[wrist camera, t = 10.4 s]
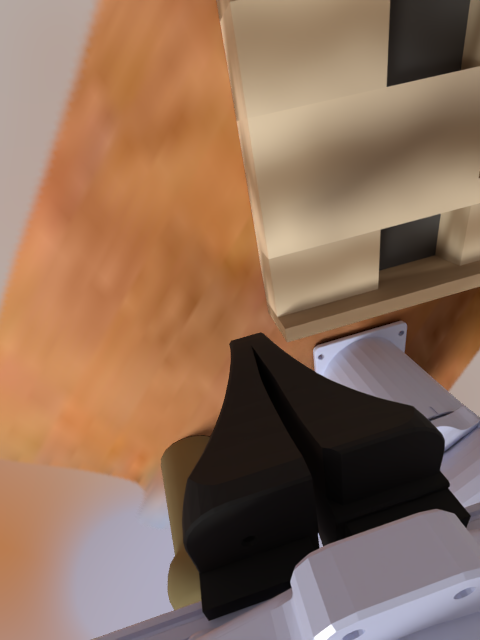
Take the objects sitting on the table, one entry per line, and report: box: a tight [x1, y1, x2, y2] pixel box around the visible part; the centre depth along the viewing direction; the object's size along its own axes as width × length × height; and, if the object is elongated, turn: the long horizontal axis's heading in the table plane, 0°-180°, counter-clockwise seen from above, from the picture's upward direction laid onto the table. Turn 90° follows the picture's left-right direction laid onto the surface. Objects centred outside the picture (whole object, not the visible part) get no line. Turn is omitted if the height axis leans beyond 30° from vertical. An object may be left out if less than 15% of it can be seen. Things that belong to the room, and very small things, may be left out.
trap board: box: [217, 0, 480, 342], centre depth 18 cm, size 17×20×4 cm
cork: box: [161, 436, 210, 610], centre depth 25 cm, size 6×6×11 cm
